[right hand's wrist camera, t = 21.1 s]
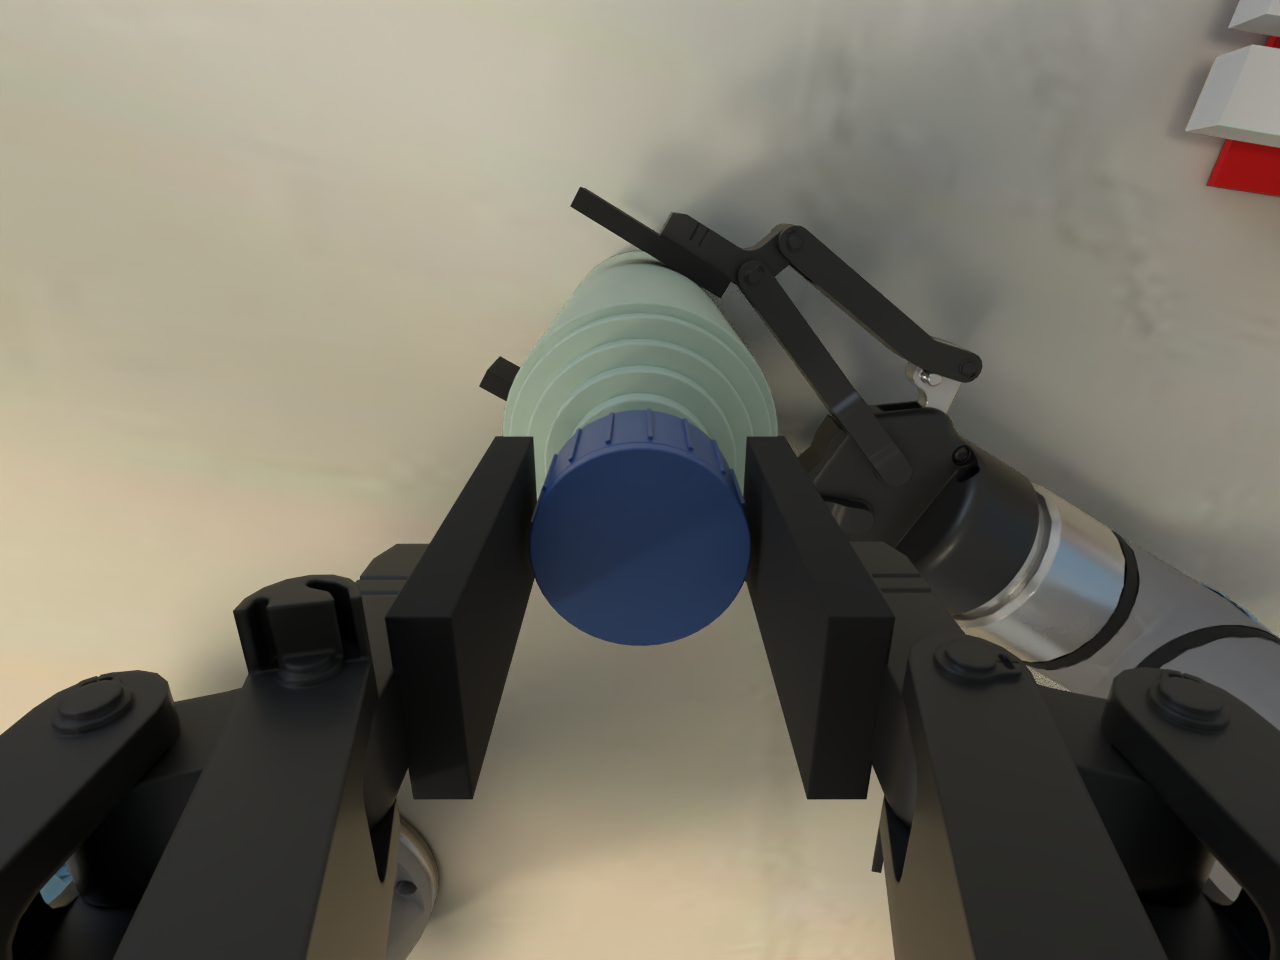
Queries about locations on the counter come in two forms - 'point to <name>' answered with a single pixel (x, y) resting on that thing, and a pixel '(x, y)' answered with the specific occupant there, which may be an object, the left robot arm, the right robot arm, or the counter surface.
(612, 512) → the cap
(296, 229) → the counter surface
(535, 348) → the bottle
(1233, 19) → the toy
